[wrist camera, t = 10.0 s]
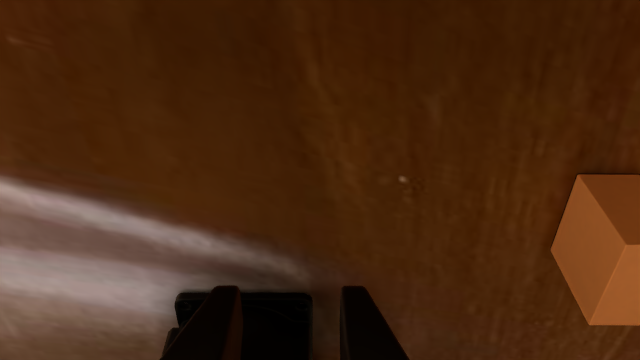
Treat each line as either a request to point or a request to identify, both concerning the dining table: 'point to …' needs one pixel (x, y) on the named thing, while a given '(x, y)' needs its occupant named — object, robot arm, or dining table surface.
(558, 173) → the dining table surface
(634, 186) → the block
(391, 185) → the dining table surface
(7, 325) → the dining table surface
